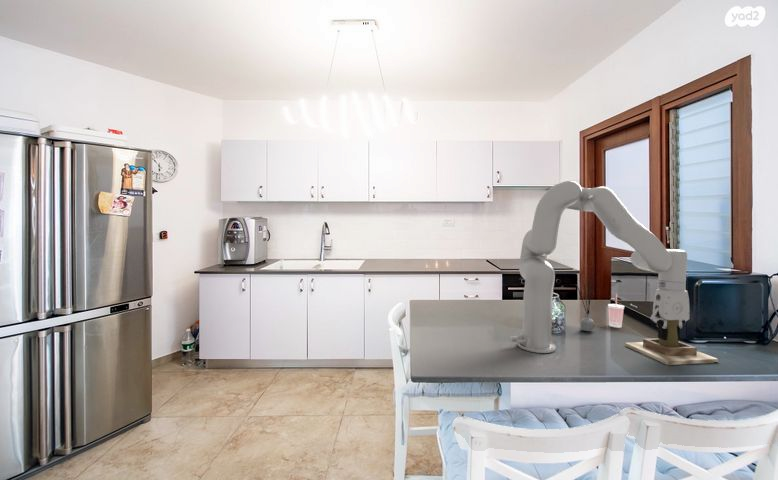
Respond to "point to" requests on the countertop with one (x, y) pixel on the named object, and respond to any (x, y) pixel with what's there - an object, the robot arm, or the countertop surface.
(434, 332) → the countertop surface
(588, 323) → the reed diffuser
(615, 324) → the beverage cup
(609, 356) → the countertop surface
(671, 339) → the cork
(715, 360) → the socket board
